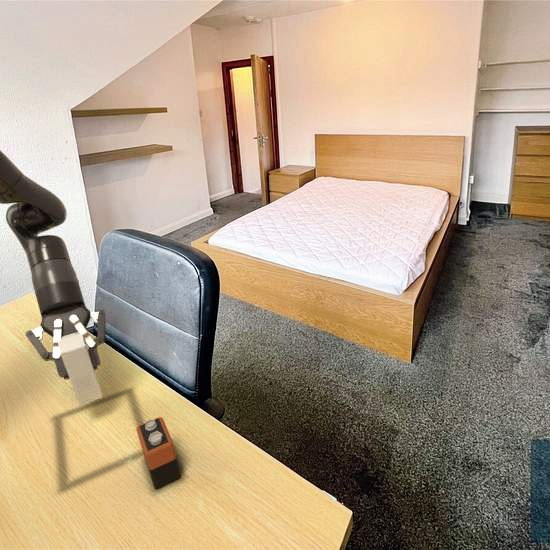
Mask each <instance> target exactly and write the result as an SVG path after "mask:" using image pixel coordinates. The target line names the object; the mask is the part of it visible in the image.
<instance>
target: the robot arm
mask: <svg viewBox="0 0 550 550" xmlns="http://www.w3.org/2000/svg"><path fill="white" fill-rule="evenodd" d="M10 204H11V205H10ZM0 205H9V207H8V208H7V210H6V212H5V221H6V223H7V225H8V227H9V229H10V230H11V231H12V233H13V234H14V236H15V237H16V239H17V240H18V241H19V243H20V245H21V247H22V249H23V251H24V253H25V255H26V258H27V262H28V267H29V269H30V273H31V283H32V286H33V290H34V294H35V297H36V302H37V306H38V310H39V312H40V317H41V322H40V326H38V327H37V328H35V329H33V330H30V329H29V330H26V332H25V337H26V338H27V339H28V340H29V342H30V344H31V345H32V346H33V348H34V349H35V351H36V352H37V353H38V356H40V358H41V359H42V360H43V361H44V362H49V361H51V362H54V365H55V368H56V372H57V375H58V376H59V377H60V379H64V381H67V380H70V378H69V376H68V373H67V370H66V368H65V365H64V362H63V359H62V357H61V353H60V349H59V345H58V341H59V340H61V338H62V336H65V335H69V334H72V333H76V332H79V333H80V334H83V337H84V340H85V343H86V346H87V349H88V352H89V355H90V359H91V362H92V365H93V368H94V370H95V371H96V370H99V366H100V365H101V359H100V356H99V352H98V348H99V346H100V345H103V344H105V342H106V331H107V330H106V329H107V314H106V311H105V310H104V309H100V310H99V311H90V310H89V308H87V306H86V302H85V299H84V296H83V292H82V290H81V287H80V282H79V281H80V280H79V278H78V276H77V273H76V271H75V269H74V267H73V263H72V261H71V257H70V254H69V251H68V249H67V248H68V247H67V245H66V242H65V240H64V239H63V238H62V237H60V236H58V235H55V234H54V235H53V234H45V235H40V234H43V233H44V232H47V231H50V230H52V229H54V228H57V227H59V226H61V225H63V224H64V223H65V222H66V220H67V215H68V214H67V209H66V206H65V204H64V202H63V201H62V200H61V199H60V198H59V197H58V196H57V195H56V194H55V193H53V192H52V191H50V190H49V189H48V188H45V187H44V186H42V185H41V184H39V183H37V182H36V181H34V180H33V179H31V178H30V177H28V176H27V175H25V174H24V173H23V172H22V171H21V170H20V169H19V168H18V166H17V165H16V164H14V162H13V161H12V160H11V159H9V157H8V156H7V155H6V154H5V153H4V152H3V151H2V150H1V149H0ZM91 319H93V322H94V323H95V324H97V334H96V335H97V336H96V337H94V338H92V337H91V335H90V333H89V331H87V328H88V325H89V323H90V321H91ZM44 332H45V333H46V334H47V335H49V336H50V337H52V338H53V341H52V345H53V347H52V348H53V349H52V351H48V350H47V349H46V347H45V346H44V344H43V343H42V340H44V336H43V333H44Z"/></svg>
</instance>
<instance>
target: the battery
mask: <svg viewBox="0 0 550 550" xmlns="http://www.w3.org/2000/svg"><path fill="white" fill-rule="evenodd" d="M136 432H137V433H136V434H137V436H138V440H139V444H140V446H141V450H142V454H143V457H144V461H145V464H146V467H147V470H148V474H149V476H150V479H151V483H152V486H153V488H154V490H156V491H158V490H160V489H163V488H165V487H167V486H168V485H171V484H173V483H175V482H177V481H179V480H180V479H182V474H181V470H180V466H179V461H178V457H177V454H176V449H175V445H174V444H175V443H174V441H173V438H172V437H171V434H170V432H169V430H168V427H167V425H166V422H165V420H164V418H163V417H162V416H159V417H157V418H154V419H148V420H147V421H145V422H144V423H142V424H140V425H137V426H136Z"/></svg>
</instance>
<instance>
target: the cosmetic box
mask: <svg viewBox="0 0 550 550" xmlns="http://www.w3.org/2000/svg"><path fill="white" fill-rule="evenodd" d="M58 345H59V349H60V353H61V357H62V359H63V362H64V365H65V368H66V370H67V373H68V376H69V378H70V379H69V381H70V384H71V386H72V389H73V393H74V395H75V398H76V400H77V402H78V405H79V406H80V407H81V406H84V405H86V404H89V403H92V402H94V401H97V400H99V399H101V398H103V397H104V395H103V392H102V388H101V385H100V382H99V379H98V376H97V373H96V370H94V368H93V365H92V362H91V359H90V355H89V352H88V349H89V348H88V346H87V344H86V343H85V340H84V337H83V334H80V333H79V332H76V333H72V334H69V335H65V336H62V338H61V340H59V341H58Z"/></svg>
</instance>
